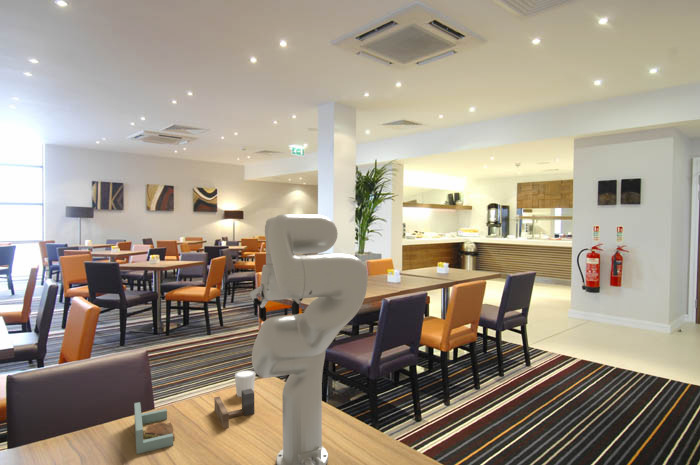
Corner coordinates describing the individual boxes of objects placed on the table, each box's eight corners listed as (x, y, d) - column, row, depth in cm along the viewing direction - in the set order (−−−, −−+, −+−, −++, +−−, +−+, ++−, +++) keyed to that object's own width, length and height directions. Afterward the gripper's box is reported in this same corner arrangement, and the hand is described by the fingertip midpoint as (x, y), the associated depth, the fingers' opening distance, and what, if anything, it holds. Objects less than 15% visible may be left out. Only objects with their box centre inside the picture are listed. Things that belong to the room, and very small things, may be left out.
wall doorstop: (258, 420, 122) (258, 398, 121) (223, 428, 117) (223, 405, 116) (247, 403, 133) (247, 383, 133) (214, 410, 128) (214, 389, 128)
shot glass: (230, 396, 138) (230, 376, 138) (241, 388, 144) (241, 369, 144) (248, 399, 136) (248, 378, 136) (259, 391, 142) (259, 371, 142)
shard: (175, 443, 110) (174, 436, 110) (143, 450, 106) (142, 444, 106) (171, 425, 119) (171, 419, 119) (142, 431, 116) (142, 425, 116)
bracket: (173, 445, 108) (172, 422, 108) (136, 454, 104) (136, 430, 104) (166, 416, 124) (166, 397, 123) (134, 423, 119) (134, 403, 119)
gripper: (301, 257, 127) (302, 312, 128) (246, 260, 119) (246, 319, 119) (311, 259, 121) (311, 317, 121) (253, 262, 112) (253, 325, 113)
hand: (279, 318), depth 120 cm, fingers open, 9 cm apart
